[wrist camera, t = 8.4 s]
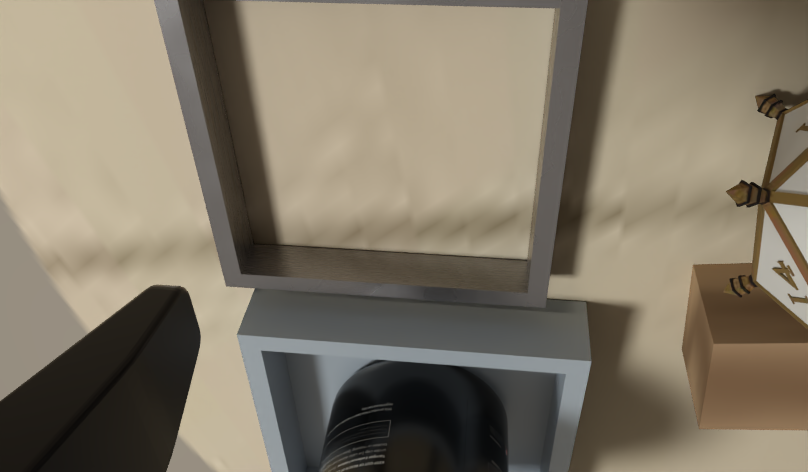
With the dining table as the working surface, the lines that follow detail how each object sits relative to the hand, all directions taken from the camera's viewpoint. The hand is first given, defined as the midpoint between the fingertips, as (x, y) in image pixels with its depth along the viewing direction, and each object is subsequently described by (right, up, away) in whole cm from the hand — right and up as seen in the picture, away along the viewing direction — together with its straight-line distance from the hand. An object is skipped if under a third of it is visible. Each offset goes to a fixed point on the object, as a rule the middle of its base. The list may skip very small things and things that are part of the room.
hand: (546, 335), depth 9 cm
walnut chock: (+11, -1, +15) cm, 19 cm away
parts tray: (-1, -5, +20) cm, 21 cm away
